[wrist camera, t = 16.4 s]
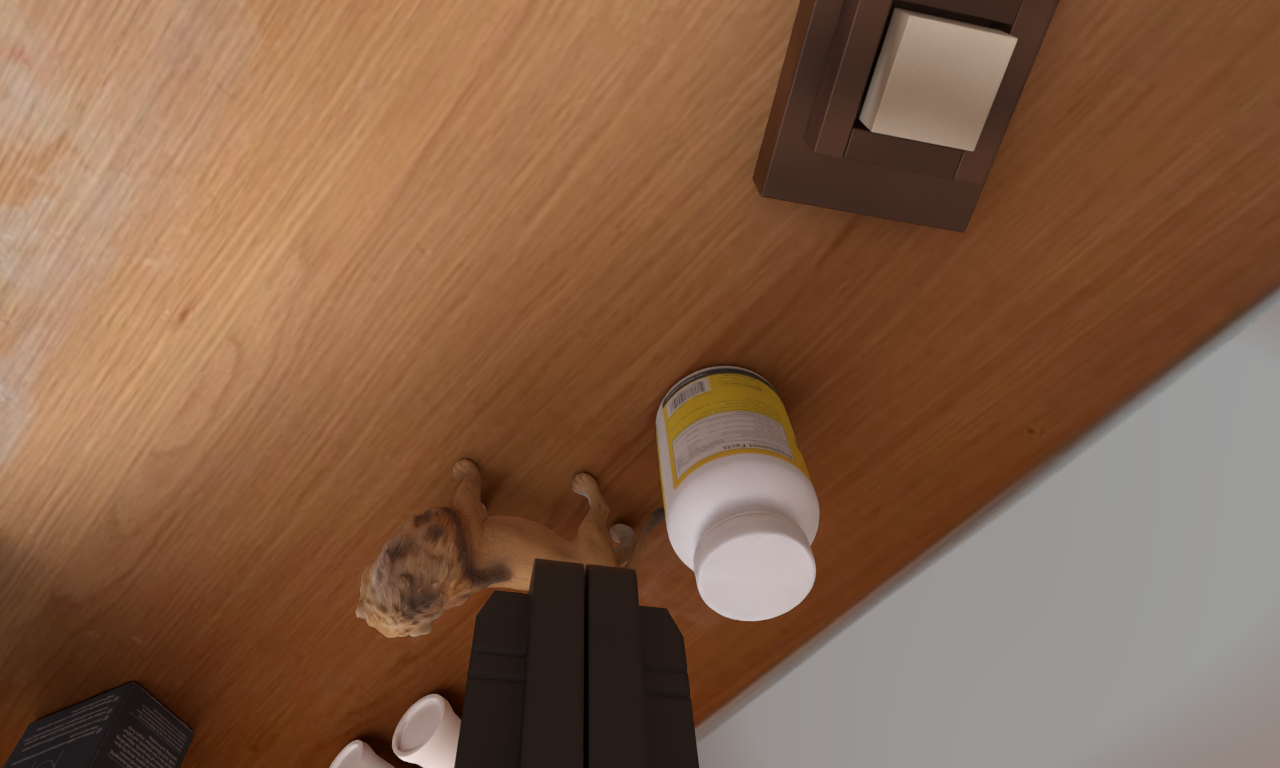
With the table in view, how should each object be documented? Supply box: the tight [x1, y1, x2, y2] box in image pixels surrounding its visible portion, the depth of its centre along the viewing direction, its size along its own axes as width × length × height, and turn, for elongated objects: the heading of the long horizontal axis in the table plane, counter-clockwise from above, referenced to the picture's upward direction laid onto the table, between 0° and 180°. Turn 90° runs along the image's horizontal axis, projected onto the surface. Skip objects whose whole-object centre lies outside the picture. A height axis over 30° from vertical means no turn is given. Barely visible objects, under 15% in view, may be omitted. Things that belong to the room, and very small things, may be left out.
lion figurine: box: [356, 459, 665, 638], centre depth 42 cm, size 15×5×9 cm, turn 86°
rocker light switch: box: [753, 0, 1059, 232], centre depth 34 cm, size 12×9×4 cm
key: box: [859, 7, 1018, 151], centre depth 32 cm, size 4×4×2 cm
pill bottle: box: [655, 366, 819, 621], centre depth 39 cm, size 6×6×12 cm
